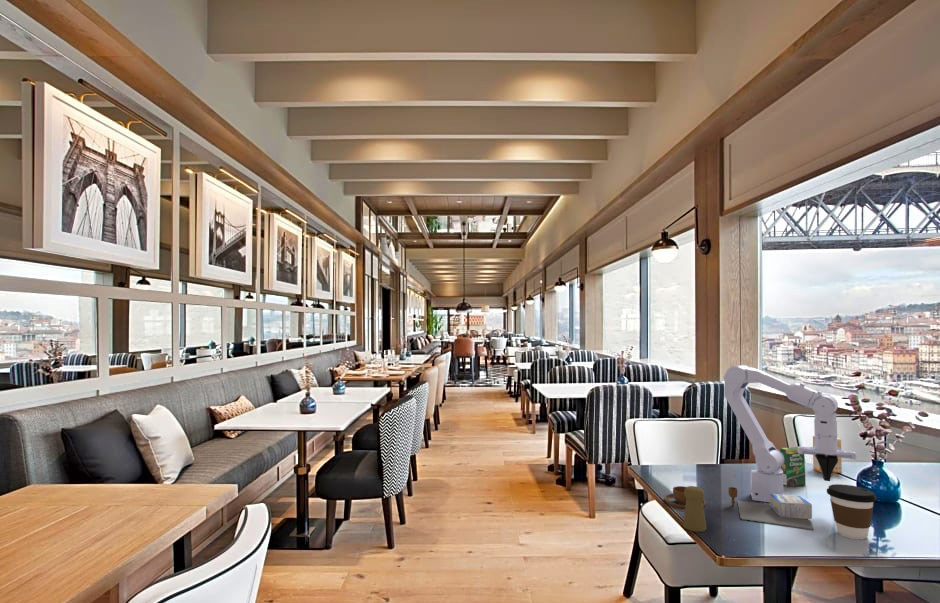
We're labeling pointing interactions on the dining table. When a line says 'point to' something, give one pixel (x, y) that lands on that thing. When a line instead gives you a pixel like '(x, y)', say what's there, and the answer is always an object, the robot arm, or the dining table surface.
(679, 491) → the place setting
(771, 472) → the robot arm
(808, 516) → the medicine box
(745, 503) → the rubber mat
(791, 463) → the coffee box
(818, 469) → the supplement box
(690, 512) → the cork
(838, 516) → the coffee cup
